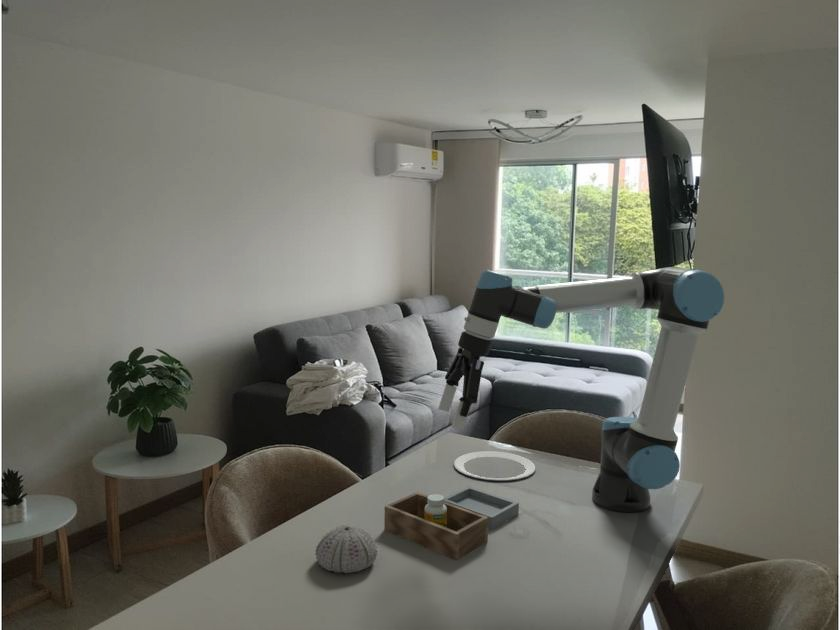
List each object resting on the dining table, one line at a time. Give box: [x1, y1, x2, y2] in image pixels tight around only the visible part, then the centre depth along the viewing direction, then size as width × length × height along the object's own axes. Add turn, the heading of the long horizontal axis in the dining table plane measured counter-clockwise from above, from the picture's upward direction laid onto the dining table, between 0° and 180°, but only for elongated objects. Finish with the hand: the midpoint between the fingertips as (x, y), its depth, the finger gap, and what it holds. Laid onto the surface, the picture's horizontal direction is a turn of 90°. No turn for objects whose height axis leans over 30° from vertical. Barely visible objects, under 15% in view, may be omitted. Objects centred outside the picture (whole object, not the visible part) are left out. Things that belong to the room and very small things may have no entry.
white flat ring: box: [453, 450, 536, 482], centre depth 207 cm, size 25×25×1 cm
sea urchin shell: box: [314, 524, 378, 574], centre depth 147 cm, size 13×14×8 cm
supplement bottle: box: [424, 493, 447, 528], centre depth 160 cm, size 5×5×10 cm
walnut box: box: [383, 491, 489, 561], centre depth 161 cm, size 22×12×6 cm, turn 49°
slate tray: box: [444, 486, 520, 530], centre depth 174 cm, size 16×12×3 cm
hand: (450, 419), depth 161 cm, fingers open, 13 cm apart
